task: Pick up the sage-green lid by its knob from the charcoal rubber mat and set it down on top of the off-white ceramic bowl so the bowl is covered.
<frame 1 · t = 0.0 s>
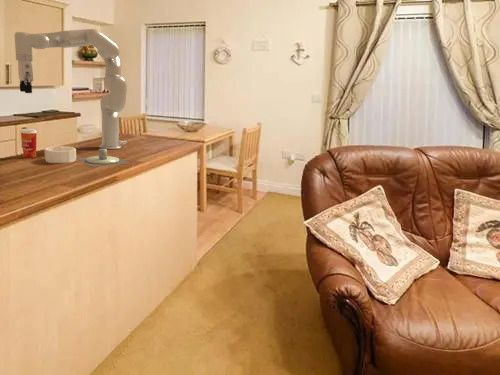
hand: (26, 92, 223), 31 cm above the table, tool pointing down, fingers open, 9 cm apart
bowl: (60, 160, 216), on the table
lid: (102, 160, 221), resting on mat
paper cup: (30, 157, 219), on the table
mat: (102, 161, 221), on the table
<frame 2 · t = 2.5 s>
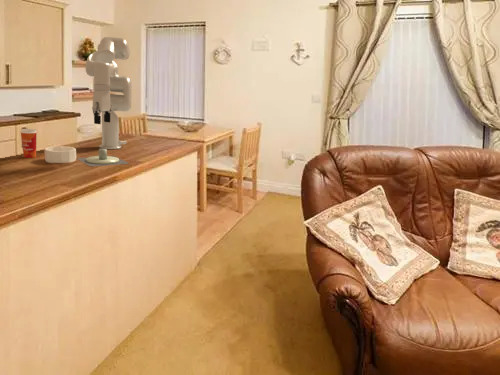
hand: (102, 123, 216), 20 cm above the table, tool pointing down, fingers open, 9 cm apart
nothing on the table moved.
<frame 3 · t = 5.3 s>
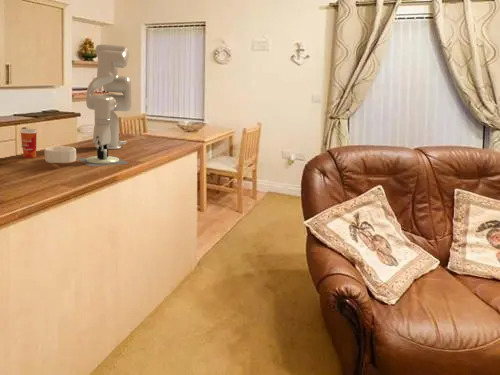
hand: (102, 157, 221), 2 cm above the table, tool pointing down, fingers closed on lid, 4 cm apart
lid: (102, 160, 221), resting on mat, touching gripper
everything else where it was.
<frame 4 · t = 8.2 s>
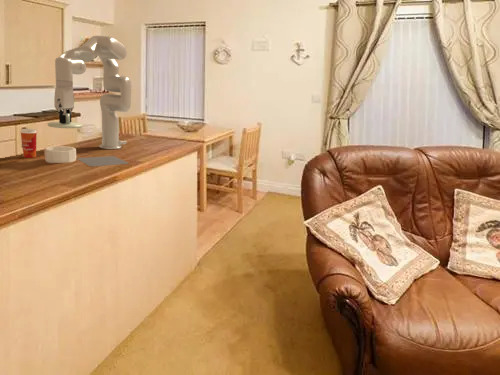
hand: (65, 122, 212), 19 cm above the table, tool pointing down, fingers closed on lid, 4 cm apart
lid: (65, 125, 212), point 18 cm above the table, touching gripper
everything else where it was.
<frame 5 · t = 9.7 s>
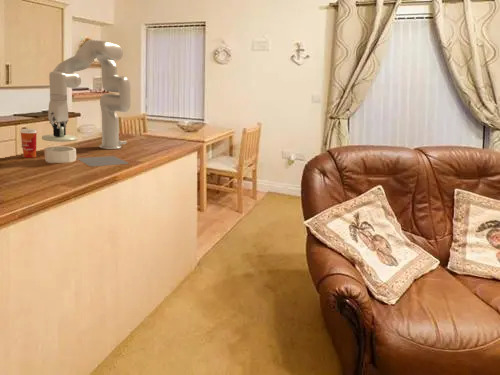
hand: (59, 135, 213), 13 cm above the table, tool pointing down, fingers closed on lid, 4 cm apart
lid: (59, 138, 213), point 11 cm above the table, touching gripper
everything else where it was.
when the fingers open (9 cm above the table, at t = 11.1 s): lid drops 1 cm, resting on bowl.
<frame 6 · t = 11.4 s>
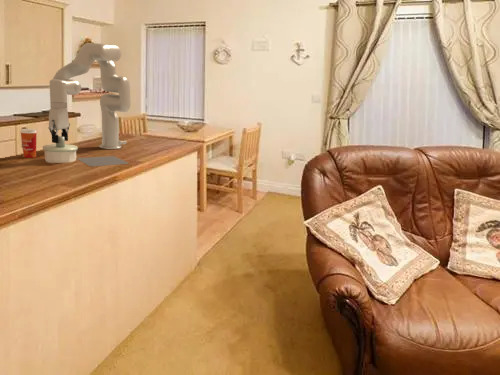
hand: (60, 141, 214), 10 cm above the table, tool pointing down, fingers open, 7 cm apart
lid: (60, 148, 215), point 6 cm above the table, touching bowl
everything else where it was.
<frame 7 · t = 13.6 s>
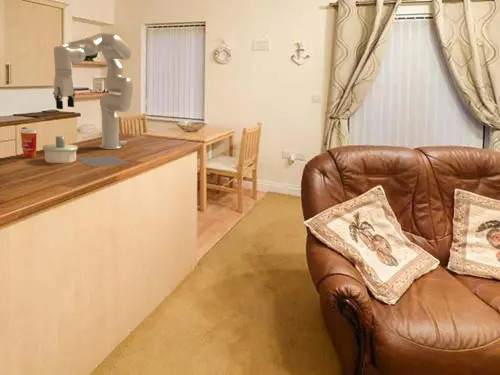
hand: (65, 107, 216), 26 cm above the table, tool pointing down, fingers open, 9 cm apart
nothing on the table moved.
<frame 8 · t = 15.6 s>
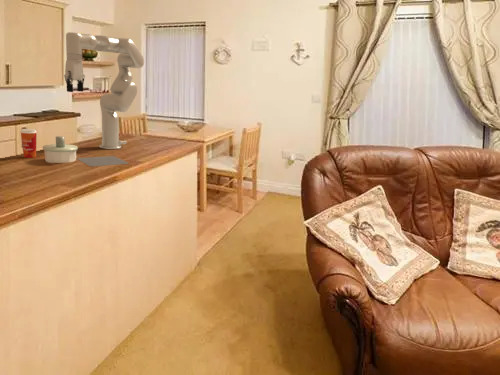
hand: (75, 91, 227), 33 cm above the table, tool pointing down, fingers open, 9 cm apart
nothing on the table moved.
at the end: lid 0.1 cm off-centre on the bowl, point 6.0 cm above the bowl's base; lid tilted 0°; the gripper is holding nothing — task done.
